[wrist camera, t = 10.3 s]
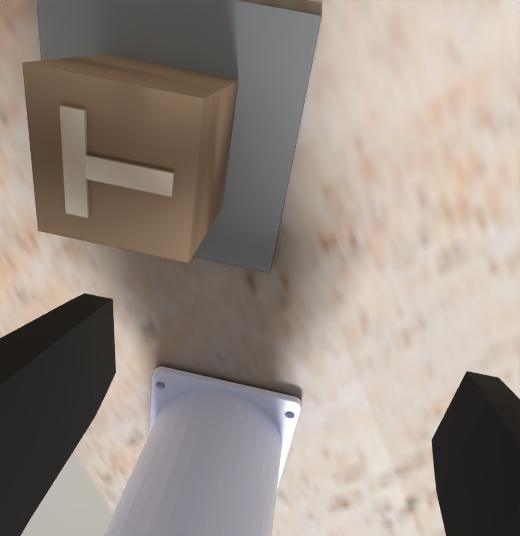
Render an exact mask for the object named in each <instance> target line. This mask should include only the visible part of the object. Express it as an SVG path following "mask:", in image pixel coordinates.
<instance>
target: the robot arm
mask: <svg viewBox="0 0 520 536" xmlns="http://www.w3.org/2000/svg"><path fill="white" fill-rule="evenodd" d="M115 373H116V364H115V341H114V318H113V299H110V298H105V297H100V296H95V295H90V294H85V293H84V294H82V295H80V296H78V297H76V298H74V299H72V300H70V301H68V302H66V303H65V304H63V305H61V306H59V307H57V308H55V309H53V310H52V311H50V312H48V313H46V314H44V315H42V316H41V317H39V318H37V319H35V320H33V321H32V322H30V323H28V324H26V325H24V326H22V327H20V328H19V329H17V330H15V331H13V332H11V333H9V334H7V335H5V336H4V337H2V338H0V536H20V535H21V534H22V532H23V530H24V529H25V527H26V525H27V524H28V522H29V520H30V518H31V517H32V515H33V514H34V512H35V511H36V509H37V507H38V506H39V504H40V503H41V501H42V500H43V498H44V496H45V495H46V493H47V492H48V490H49V489H50V487H51V485H52V484H53V482H54V481H55V479H56V478H57V476H58V474H59V473H60V471H61V470H62V468H63V467H64V465H65V464H66V462H67V460H68V459H69V457H70V456H71V454H72V453H73V451H74V449H75V448H76V446H77V445H78V443H79V441H80V440H81V438H82V437H83V435H84V433H85V432H86V430H87V429H88V427H89V425H90V424H91V422H92V421H93V419H94V417H95V416H96V414H97V411H98V409H99V407H100V405H101V403H102V401H103V399H104V397H105V395H106V393H107V391H108V389H109V386H110V384H111V382H112V380H113V378H114V375H115ZM160 382H163V383H164V384H162V383H160ZM301 406H302V402H301V401H300V399H298V398H297V397H294V396H290V395H286V394H281V393H277V392H273V391H268V390H264V389H259V388H255V387H250V386H246V385H242V384H237V383H233V382H228V381H224V380H220V379H215V378H211V377H206V376H202V375H198V374H193V373H189V372H184V371H180V370H176V369H171V368H167V367H157V368H156V369H155V371H154V373H153V375H152V391H151V409H150V427H149V436H148V439H147V441H146V443H145V445H144V447H143V450H142V452H141V454H140V456H139V459H138V461H137V463H136V465H135V467H134V470H133V472H132V474H131V476H130V479H129V481H128V483H127V485H126V487H125V490H124V492H123V494H122V496H121V498H120V501H119V503H118V505H117V507H116V510H115V512H114V514H113V516H112V518H111V521H110V523H109V525H108V527H107V530H106V532H105V534H104V536H271V535H272V526H273V518H274V510H275V501H276V494H277V490H278V487H279V483H280V480H281V477H282V473H283V470H284V466H285V463H286V460H287V456H288V453H289V449H290V446H291V443H292V439H293V436H294V432H295V429H296V426H297V422H298V419H299V415H300V412H301ZM287 411H291V412H293V413H289V412H287ZM432 450H433V462H434V473H435V482H436V491H437V496H438V500H439V505H440V510H441V514H442V519H443V523H444V528H445V532H446V536H520V399H519V398H518V397H517V396H516V395H515V394H514V393H513V392H512V391H511V390H510V389H509V388H508V387H507V386H506V385H505V384H504V383H503V382H502V381H501V380H500V379H499V378H497V377H493V376H488V375H483V374H478V373H473V372H468V371H467V372H466V374H465V376H464V378H463V380H462V381H461V383H460V385H459V387H458V389H457V391H456V393H455V395H454V397H453V399H452V401H451V403H450V405H449V407H448V409H447V411H446V413H445V415H444V417H443V419H442V421H441V423H440V425H439V427H438V429H437V431H436V433H435V434H434V436H433V438H432Z"/></svg>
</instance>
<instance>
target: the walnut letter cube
mask: <svg viewBox="0 0 520 536" xmlns="http://www.w3.org/2000/svg"><path fill="white" fill-rule="evenodd" d="M22 64H23V75H24V86H25V96H26V107H27V118H28V128H29V139H30V150H31V160H32V171H33V182H34V192H35V203H36V214H37V224H38V231H41V232H46V233H51V234H55V235H60V236H65V237H69V238H74V239H78V240H83V241H88V242H92V243H97V244H102V245H106V246H111V247H116V248H120V249H125V250H129V251H134V252H139V253H143V254H148V255H153V256H157V257H162V258H166V259H171V260H176V261H180V262H185V263H189V261H190V260H191V258H192V256H193V255H194V253H195V252H196V250H197V248H198V247H199V245H200V243H201V242H202V240H203V239H204V237H205V235H206V234H207V232H208V230H209V229H210V227H211V226H212V224H213V222H214V221H215V219H216V217H217V216H218V214H219V213H220V211H221V209H222V206H223V199H224V191H225V183H226V176H227V168H228V160H229V152H230V145H231V137H232V129H233V122H234V114H235V106H236V98H237V91H238V83H239V80H237V79H231V78H226V77H221V76H216V75H211V74H206V73H201V72H196V71H191V70H185V69H180V68H175V67H170V66H165V65H160V64H155V63H150V62H144V61H139V60H134V59H129V58H124V57H119V56H114V55H109V54H101V55H91V56H81V57H72V58H62V59H53V60H43V61H33V62H24V63H22Z"/></svg>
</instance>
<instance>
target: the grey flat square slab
mask: <svg viewBox="0 0 520 536" xmlns="http://www.w3.org/2000/svg"><path fill="white" fill-rule="evenodd" d="M37 11H38V24H39V37H40V51H41V61H43V60H53V59H62V58H72V57H81V56H91V55H101V54H109V55H114V56H119V57H124V58H129V59H134V60H139V61H144V62H150V63H155V64H160V65H165V66H170V67H175V68H180V69H185V70H191V71H196V72H201V73H206V74H211V75H216V76H221V77H226V78H231V79H237V80H239V83H238V91H237V98H236V106H235V114H234V122H233V129H232V137H231V145H230V152H229V160H228V168H227V176H226V183H225V191H224V199H223V206H222V209H221V211H220V213H219V214H218V216H217V217H216V219H215V221H214V222H213V224H212V226H211V227H210V229H209V230H208V232H207V234H206V235H205V237H204V239H203V240H202V242H201V243H200V245H199V247H198V248H197V250H196V252H195V253H194V255H193V257H198V258H202V259H207V260H212V261H216V262H221V263H226V264H230V265H235V266H240V267H244V268H249V269H254V270H258V271H263V272H268V273H270V270H271V266H272V261H273V256H274V251H275V246H276V241H277V236H278V231H279V226H280V221H281V216H282V211H283V206H284V201H285V196H286V191H287V186H288V181H289V176H290V171H291V166H292V161H293V156H294V151H295V146H296V141H297V136H298V131H299V126H300V121H301V117H302V112H303V107H304V102H305V97H306V92H307V87H308V82H309V77H310V72H311V67H312V62H313V57H314V52H315V47H316V42H317V37H318V32H319V27H320V22H321V17H322V16H320V15H315V14H309V13H304V12H299V11H293V10H288V9H282V8H277V7H272V6H266V5H261V4H255V3H250V2H245V1H239V0H37Z"/></svg>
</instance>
